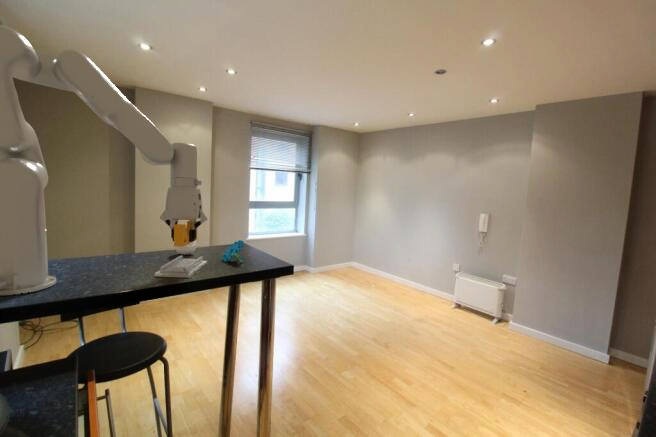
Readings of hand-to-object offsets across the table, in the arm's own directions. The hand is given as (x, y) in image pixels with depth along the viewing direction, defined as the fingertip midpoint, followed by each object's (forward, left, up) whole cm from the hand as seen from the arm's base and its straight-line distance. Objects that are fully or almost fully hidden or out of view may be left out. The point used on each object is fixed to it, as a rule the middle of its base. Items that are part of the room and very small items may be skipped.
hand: (183, 240), depth 97 cm
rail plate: (0, 0, -10) cm, 10 cm away
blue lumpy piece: (+13, -13, -10) cm, 21 cm away
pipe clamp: (0, 0, -1) cm, 1 cm away
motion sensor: (+20, +7, -10) cm, 23 cm away
